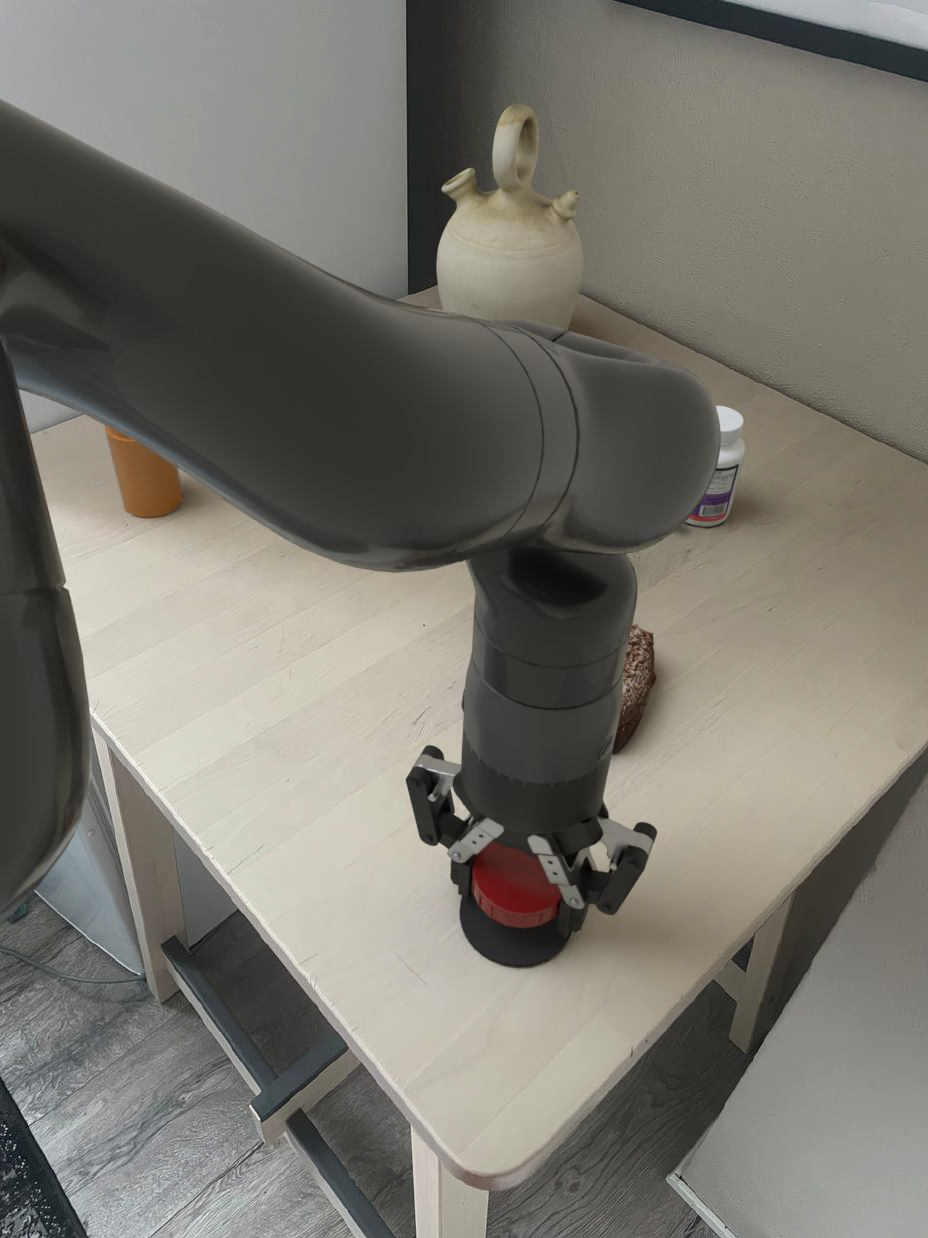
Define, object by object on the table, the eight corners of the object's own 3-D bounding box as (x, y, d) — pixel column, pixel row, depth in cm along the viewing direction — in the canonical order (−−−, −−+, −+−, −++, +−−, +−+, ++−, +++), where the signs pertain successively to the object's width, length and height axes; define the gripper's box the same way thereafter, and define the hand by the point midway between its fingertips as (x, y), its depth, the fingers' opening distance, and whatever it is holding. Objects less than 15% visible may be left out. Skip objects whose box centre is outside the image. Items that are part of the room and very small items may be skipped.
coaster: (550, 986, 59) (551, 983, 59) (440, 940, 61) (440, 937, 61) (589, 889, 64) (590, 886, 64) (486, 849, 66) (486, 846, 66)
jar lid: (498, 829, 63) (499, 813, 62) (584, 869, 61) (588, 854, 60) (453, 901, 60) (453, 885, 59) (543, 946, 58) (546, 931, 57)
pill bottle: (682, 485, 96) (702, 393, 89) (737, 504, 94) (761, 412, 87) (659, 515, 92) (678, 422, 86) (716, 535, 90) (739, 442, 84)
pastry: (666, 661, 79) (679, 604, 75) (620, 774, 71) (632, 718, 67) (532, 619, 82) (538, 562, 78) (473, 723, 74) (476, 666, 70)
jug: (406, 348, 113) (404, 105, 96) (495, 301, 122) (507, 70, 105) (516, 398, 106) (534, 146, 89) (601, 344, 115) (633, 105, 98)
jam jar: (175, 519, 90) (156, 427, 83) (116, 516, 90) (92, 424, 83) (189, 484, 94) (172, 393, 87) (132, 481, 94) (111, 390, 87)
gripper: (702, 713, 51) (649, 897, 62) (438, 627, 55) (434, 815, 66) (661, 828, 46) (612, 1005, 57) (373, 724, 50) (382, 910, 61)
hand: (517, 903), depth 62 cm, fingers closed on jar lid, 5 cm apart
